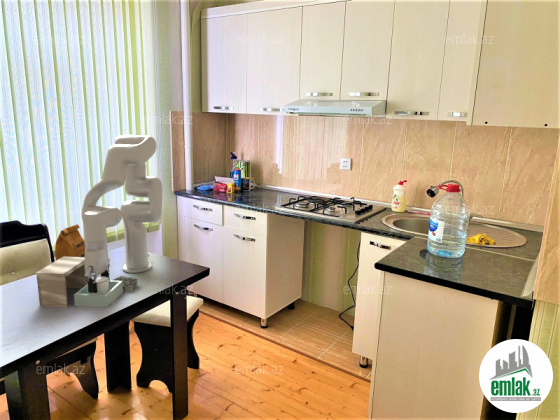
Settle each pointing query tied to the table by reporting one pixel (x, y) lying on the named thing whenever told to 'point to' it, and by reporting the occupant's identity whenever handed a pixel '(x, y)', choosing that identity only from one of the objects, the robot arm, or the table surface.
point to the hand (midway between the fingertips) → (99, 287)
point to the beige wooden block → (60, 280)
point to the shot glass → (102, 285)
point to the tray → (98, 300)
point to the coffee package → (70, 243)
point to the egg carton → (128, 282)
